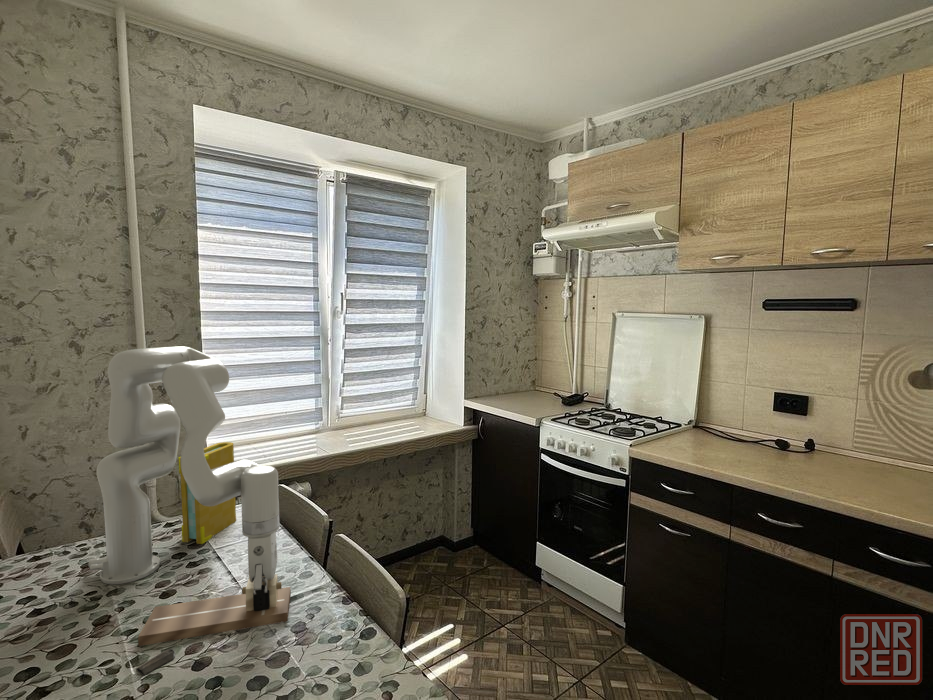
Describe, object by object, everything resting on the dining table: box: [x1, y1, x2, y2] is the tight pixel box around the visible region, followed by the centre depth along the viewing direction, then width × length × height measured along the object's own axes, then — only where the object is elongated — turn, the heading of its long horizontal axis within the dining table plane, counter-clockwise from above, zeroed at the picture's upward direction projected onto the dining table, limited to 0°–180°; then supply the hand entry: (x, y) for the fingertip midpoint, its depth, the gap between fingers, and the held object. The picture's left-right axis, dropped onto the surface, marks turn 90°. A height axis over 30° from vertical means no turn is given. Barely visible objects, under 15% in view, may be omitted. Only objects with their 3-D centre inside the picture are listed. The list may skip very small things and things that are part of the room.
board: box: [137, 586, 292, 647], centre depth 104 cm, size 28×10×2 cm, turn 106°
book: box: [177, 441, 237, 545], centre depth 145 cm, size 17×7×25 cm, turn 168°
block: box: [135, 648, 176, 676], centre depth 91 cm, size 4×6×2 cm, turn 150°
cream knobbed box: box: [241, 573, 283, 611], centre depth 106 cm, size 8×4×5 cm, turn 106°
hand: (263, 601), depth 107 cm, fingers closed on cream knobbed box, 4 cm apart
